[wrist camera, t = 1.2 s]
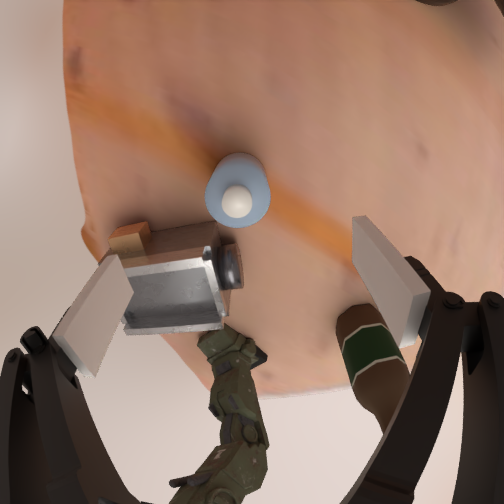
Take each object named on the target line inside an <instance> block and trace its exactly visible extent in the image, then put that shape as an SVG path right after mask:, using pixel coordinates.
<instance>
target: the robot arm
mask: <svg viewBox="0 0 504 504" xmlns="http://www.w3.org/2000/svg"><path fill="white" fill-rule="evenodd" d="M417 1H419V2H422V3H424V4H428V5H432V6H443V5H447V4H450V3H453V2H456V1H457V0H417ZM494 1H495V2H496V4H497V6H498V7H499V9H500V11H501V13H502V15H503V16H504V0H494ZM352 263H353V264H354V266H355V268H356V270H357V271H358V273H359V275H360V276H361V278H362V280H363V282H364V284H365V285H366V287H367V289H368V291H369V292H370V294H371V296H372V298H373V300H374V302H375V303H376V305H377V307H378V309H379V311H380V313H381V315H382V316H383V318H384V320H385V322H386V324H387V326H388V328H389V330H390V332H391V334H392V336H393V338H394V340H395V342H396V344H397V346H398V348H403V347H406V346H409V345H413V344H415V342H416V339H417V336H418V334H419V336H420V338H421V339H422V343H421V346H420V348H419V351H418V353H417V356H416V360H415V363H414V366H413V369H412V371H411V374H410V377H409V379H408V382H407V384H406V387H405V389H404V392H403V394H402V396H401V399H400V401H399V403H398V406H397V408H396V410H395V412H394V414H393V416H392V418H391V421H390V423H389V425H388V427H387V429H386V431H385V433H384V434H383V437H382V438H381V440H380V442H379V444H378V446H377V448H376V450H375V451H374V453H373V455H372V456H371V458H370V460H369V461H368V463H367V465H366V467H365V468H364V470H363V471H362V473H361V475H360V476H359V478H358V479H357V481H356V482H355V484H354V485H353V487H352V488H351V489H350V491H349V492H348V494H347V495H346V496H345V497H344V499H343V500H342V501H341V503H340V504H412V503H413V500H414V490H415V487H416V485H417V483H418V481H419V479H420V477H421V474H422V472H423V470H424V468H425V466H426V464H427V461H428V459H429V457H430V454H431V452H432V450H433V447H434V444H435V442H436V439H437V437H438V434H439V431H440V428H441V425H442V422H443V419H444V416H445V413H446V410H447V406H448V403H449V399H450V396H451V392H452V388H453V384H454V380H455V376H456V371H457V367H458V362H459V357H460V352H461V353H462V365H463V385H464V386H463V387H464V388H463V389H464V411H463V432H462V444H461V454H460V462H459V468H458V474H457V480H456V485H455V490H454V495H453V499H452V504H504V298H503V297H502V296H501V295H500V294H498V293H496V292H491V291H489V292H485V293H483V294H482V296H481V299H480V301H479V302H465V301H464V299H463V298H462V297H461V296H459V295H458V294H456V293H453V292H446V291H445V290H444V289H443V288H442V287H441V285H440V284H439V283H438V282H437V281H436V279H435V278H434V277H433V276H432V275H431V274H430V272H429V271H428V270H427V269H425V267H424V265H423V264H422V263H421V262H420V261H419V260H417V259H415V258H414V257H412V256H408V257H403V256H402V255H401V254H400V253H399V251H398V250H397V249H396V248H395V247H394V246H393V245H392V243H391V242H390V241H389V240H388V239H387V238H386V237H385V236H384V235H383V233H382V232H381V231H380V230H379V229H378V228H377V227H376V226H375V225H374V224H373V223H372V222H371V221H370V220H369V218H368V217H367V216H358V217H353V234H352ZM133 293H134V291H133V289H132V287H131V285H130V283H129V280H128V278H127V276H126V274H125V271H124V269H123V267H122V264H121V262H120V259H119V257H118V255H117V254H116V255H110V256H107V257H106V258H105V259H104V261H103V262H102V263H101V265H100V266H99V267H98V269H97V270H96V271H95V273H94V274H93V275H92V277H91V278H90V280H89V281H88V282H87V284H86V285H85V286H84V288H83V289H82V291H81V292H80V293H79V295H78V296H77V298H76V299H75V301H74V302H73V304H72V305H71V306H70V307H69V308H68V309H67V311H66V312H65V314H64V315H63V318H61V320H60V321H59V323H58V324H57V326H56V328H55V329H54V331H53V332H52V334H51V336H50V337H49V339H47V338H46V336H45V335H44V333H43V332H42V331H41V329H40V328H39V327H38V326H35V327H31V328H29V329H28V330H27V331H26V332H25V333H24V334H23V336H22V337H21V339H20V343H21V344H22V345H23V346H24V348H25V349H26V350H27V352H28V353H29V354H25V355H24V353H23V352H22V351H21V350H20V348H14V349H12V350H10V351H9V352H8V354H7V355H6V357H5V360H4V364H3V368H2V372H1V376H0V504H152V503H147V502H142V501H141V503H140V502H139V501H138V500H137V499H136V498H135V497H134V496H133V495H132V494H131V493H130V492H129V491H128V490H127V488H126V487H125V485H124V483H123V482H122V480H121V478H120V476H119V474H118V473H117V471H116V469H115V467H114V465H113V463H112V461H111V459H110V457H109V455H108V453H107V451H106V449H105V447H104V445H103V442H102V440H101V438H100V436H99V433H98V431H97V429H96V426H95V424H94V421H93V419H92V417H91V414H90V411H89V408H88V406H87V403H86V400H85V398H84V394H83V391H82V389H81V385H80V382H79V379H78V377H77V376H76V375H75V372H76V370H77V369H78V370H79V372H80V373H81V374H82V375H83V376H84V377H92V378H95V377H96V375H97V372H98V370H99V367H100V365H101V363H102V360H103V358H104V356H105V353H106V351H107V348H108V346H109V344H110V342H111V340H112V337H113V335H114V333H115V331H116V329H117V327H118V324H119V322H120V320H121V318H122V316H123V314H124V312H125V310H126V308H127V306H128V304H129V301H130V299H131V297H132V295H133ZM22 385H23V386H24V387H25V388H26V389H27V390H28V394H25V392H24V391H23V390H22Z"/></svg>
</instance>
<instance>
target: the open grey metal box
mask: <svg viewBox="0 0 504 504" xmlns="http://www.w3.org/2000/svg"><path fill="white" fill-rule="evenodd" d="M108 242H109V244H110V247H111V248H110V249H109V250H108V252H107V253H106V254H105V255H104V257H103V258H102V259H101V261H100V262H99V263H98V265H99V266H100V265H101V263H102V262H103V261H104V259H105V258H106V257H107V256H110V255H116V254H117V255H118V257H119V259H120V262H121V264H122V267H123V269H124V271H125V274H126V276H127V278H128V280H129V283H130V285H131V287H132V289H133V291H134V293H133V295H132V297H131V299H130V301H129V304H128V306H127V308H126V310H125V312H124V314H123V316H122V318H121V322H122V323H123V324H126V325H125V327H124V329H123V330H124V331H125V333H126V335H149V334H168V333H183V332H196V331H208V330H218V329H224V318H225V316H229V309H230V295H231V290H232V289H240V288H243V287H244V277H243V268H242V261H241V255H240V251H239V247H238V244H237V243H235V244H228V245H222V244H221V240H220V235H219V231H218V227H217V223H216V221H211V222H205V223H199V224H194V225H188V226H182V227H177V228H171V229H166V230H160V231H155V232H150V229H149V226H148V223H147V221H146V222H141V223H136V224H132V225H127V226H122V227H118V228H117V229H116V230H115V231H114V232H113V233H112V235H111V236H110V237H109V238H108ZM97 269H98V268H97ZM94 273H95V272H94Z"/></svg>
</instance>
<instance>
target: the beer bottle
mask: <svg viewBox="0 0 504 504" xmlns="http://www.w3.org/2000/svg"><path fill="white" fill-rule="evenodd" d="M336 336H337V340H338V343H339V346H340V350H341V353H342V356H343V359H344V362H345V366H346V369H347V372H348V376H349V379H350V383H351V386H352V389H353V392H354V394H355V397H356V399H357V400H358V402H359V403H360V404H361V405H362V406H363V407H364V408H365V409H367V410H368V411H370V412H371V413H373V414H374V415H375V417H376V419H377V420H378V422H379V424H380V427H381V430H382V432H383V434H384V433H385V431H386V429H387V427H388V425H389V423H390V421H391V418H392V416H393V414H394V412H395V410H396V408H397V406H398V403H399V401H400V399H401V396H402V394H403V392H404V389H405V387H406V384H407V382H408V379H409V377H410V373H409V371H408V368H407V365H406V363H405V360H404V358H403V356H402V354H401V352H400V350H399V348H398V346H397V344H396V342H395V340H394V338H393V336H392V334H391V332H390V330H389V328H388V326H387V324H386V322H385V320H384V318H383V317H382V315H381V314H380V312H378V311H377V310H376V309H375V308H374V307H373V306H372V305H371V304H365V305H358V306H352V307H351V308H350V309H348V310H347V311H346V312H345V313H343V314H342V315H341V316H340V317H339V318H338V323H337V328H336Z"/></svg>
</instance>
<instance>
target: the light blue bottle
mask: <svg viewBox="0 0 504 504" xmlns="http://www.w3.org/2000/svg"><path fill="white" fill-rule="evenodd" d="M270 198H271V196H270V189H269V185H268V182H267V178H266V174H265V170H264V168H263V166H262V164H261V163H260V161H259V160H258V159H257V158H255V157H254V156H252V155H250V154H247V153H240V152H238V153H232V154H230V155H227V156H226V157H224V158H223V159H222V160H221V161H220V162H219V163H218V165H217V166H216V168H215V170H214V172H213V174H212V176H211V178H210V180H209V182H208V184H207V187H206V190H205V204H206V207H207V209H208V211H209V213H210V214H211V216H212V217H213V218H214V219H215V220H216V221H218V222H219V223H221V224H223V225H225V226H228V227H233V228H243V227H247V226H250V225H253V224H255V223H256V222H258V221H259V220H260V219H261V218H262V217H263V216H264V215H265V213H266V212H267V210H268V208H269V205H270Z"/></svg>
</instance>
